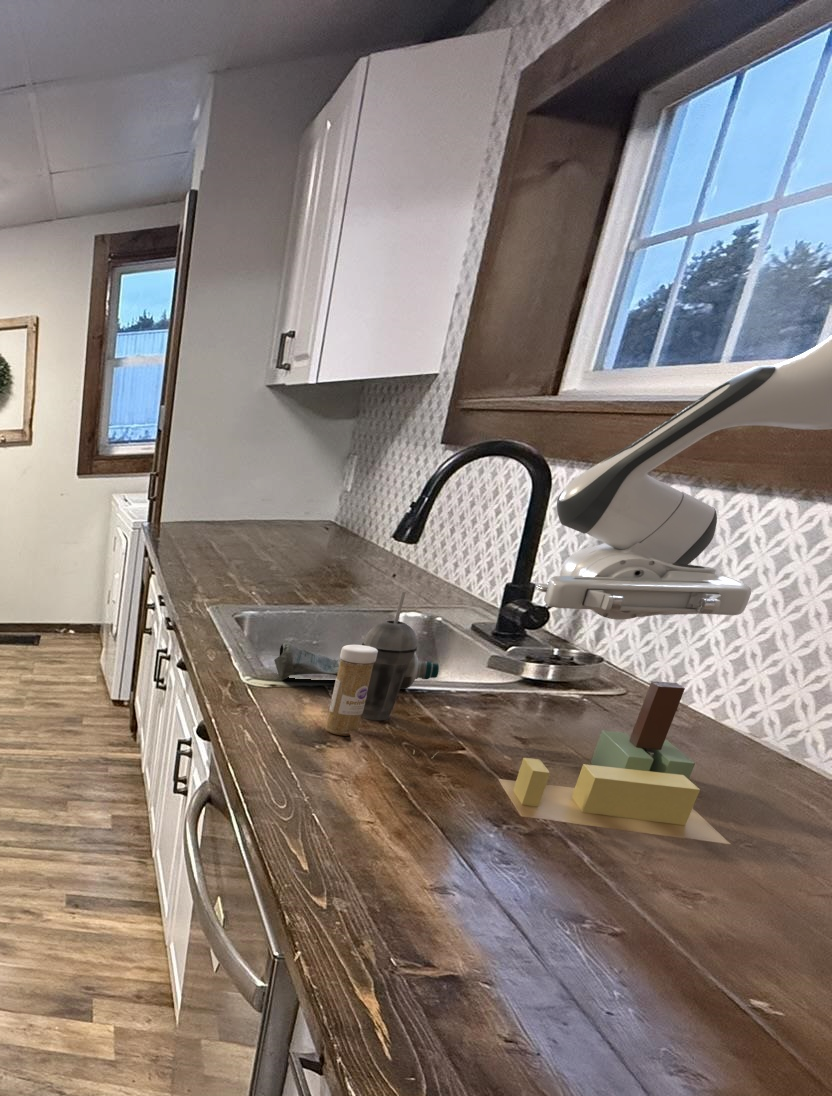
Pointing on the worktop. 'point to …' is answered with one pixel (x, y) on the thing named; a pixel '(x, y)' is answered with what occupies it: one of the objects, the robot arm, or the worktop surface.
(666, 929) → the worktop surface
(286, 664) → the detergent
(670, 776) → the butter
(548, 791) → the butter board
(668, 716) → the wood-handled putty knife
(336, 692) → the sprinkles bottle
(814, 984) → the worktop surface
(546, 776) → the butter slice
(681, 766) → the knife block
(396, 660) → the beverage cup
